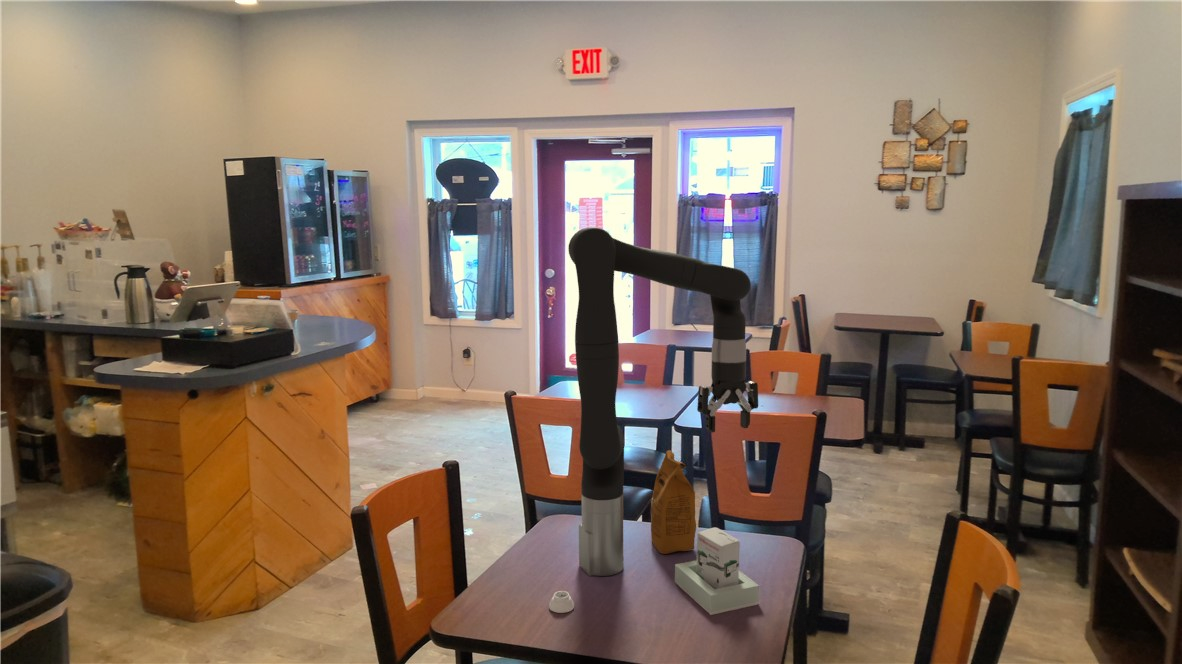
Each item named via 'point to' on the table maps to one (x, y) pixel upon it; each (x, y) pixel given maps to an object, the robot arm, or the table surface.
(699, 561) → the ink box
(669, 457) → the coffee package
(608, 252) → the robot arm
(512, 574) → the table surface
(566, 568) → the table surface
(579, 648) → the table surface
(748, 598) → the pale green rectangular frame
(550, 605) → the lidless jar
